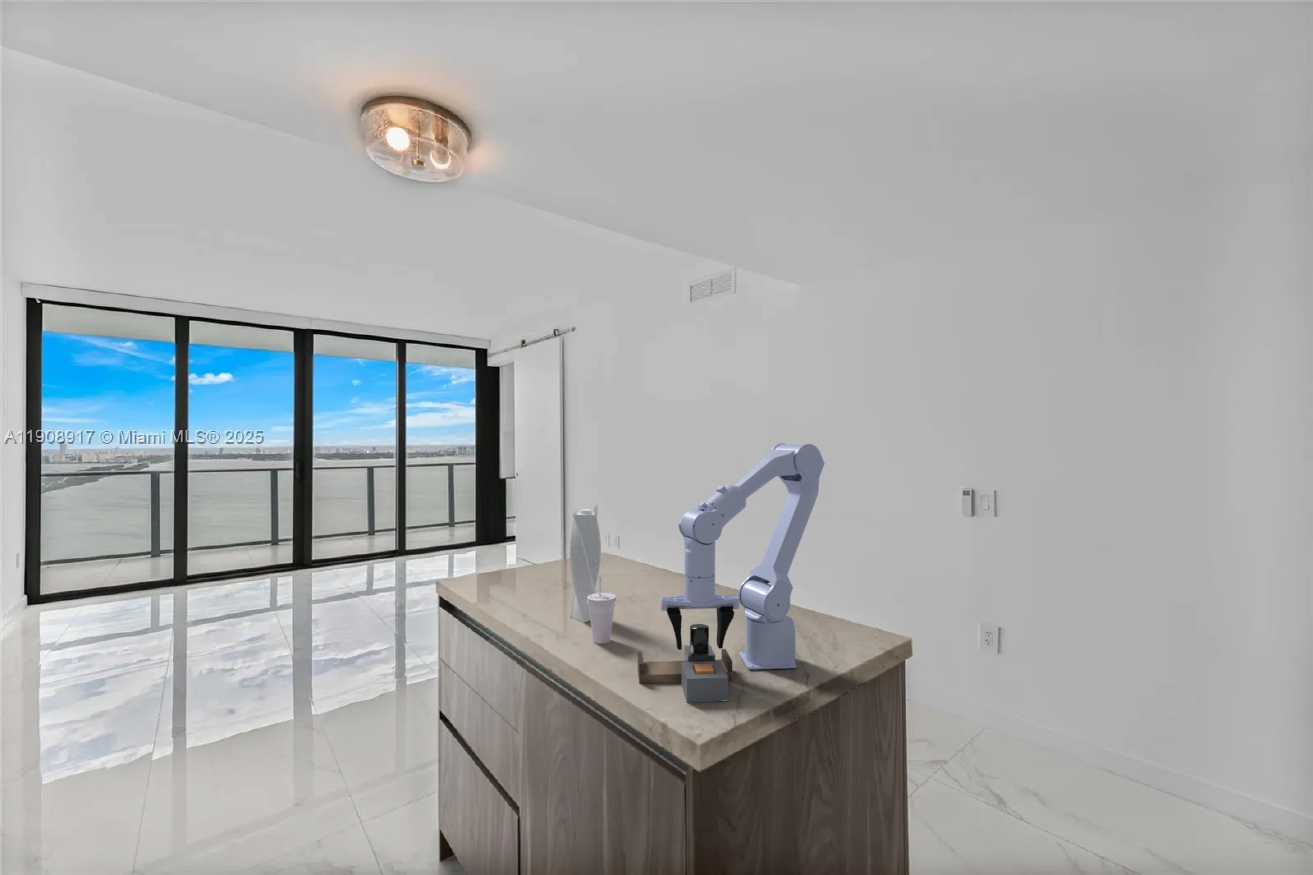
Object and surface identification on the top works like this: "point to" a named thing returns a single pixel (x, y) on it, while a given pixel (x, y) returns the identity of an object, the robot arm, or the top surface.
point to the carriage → (699, 645)
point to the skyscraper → (584, 560)
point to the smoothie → (601, 615)
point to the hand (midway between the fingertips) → (699, 647)
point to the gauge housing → (704, 683)
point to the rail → (671, 669)
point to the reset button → (703, 669)
